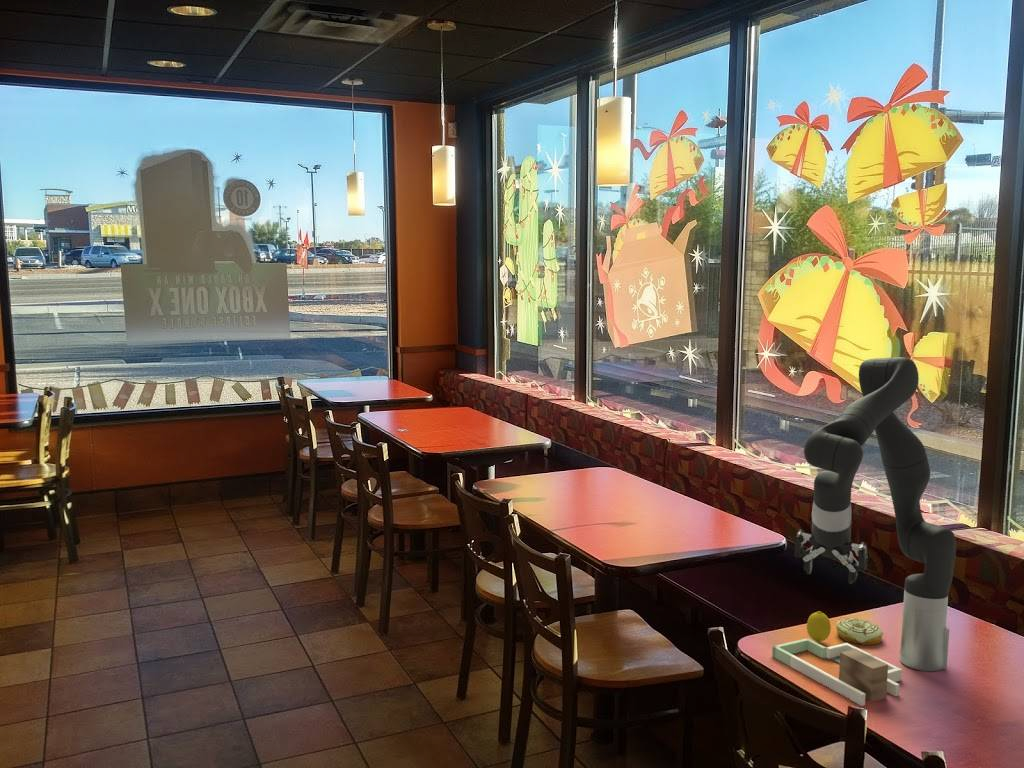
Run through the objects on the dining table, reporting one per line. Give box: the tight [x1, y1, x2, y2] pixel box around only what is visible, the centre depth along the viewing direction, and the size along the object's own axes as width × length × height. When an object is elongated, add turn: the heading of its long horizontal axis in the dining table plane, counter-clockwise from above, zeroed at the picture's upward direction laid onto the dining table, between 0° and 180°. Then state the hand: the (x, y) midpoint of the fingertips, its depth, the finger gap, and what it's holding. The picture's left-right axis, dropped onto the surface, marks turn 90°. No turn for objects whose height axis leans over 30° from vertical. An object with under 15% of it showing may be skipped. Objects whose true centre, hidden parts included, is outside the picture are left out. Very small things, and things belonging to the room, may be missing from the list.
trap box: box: [789, 642, 903, 707], centre depth 202 cm, size 21×18×2 cm
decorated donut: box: [835, 617, 884, 646], centre depth 224 cm, size 10×11×4 cm
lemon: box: [806, 610, 832, 644], centre depth 220 cm, size 6×6×8 cm
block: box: [838, 649, 888, 703], centre depth 195 cm, size 9×4×8 cm, turn 26°
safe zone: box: [771, 637, 827, 667], centre depth 212 cm, size 6×11×2 cm, turn 116°
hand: (829, 576), depth 190 cm, fingers open, 8 cm apart
